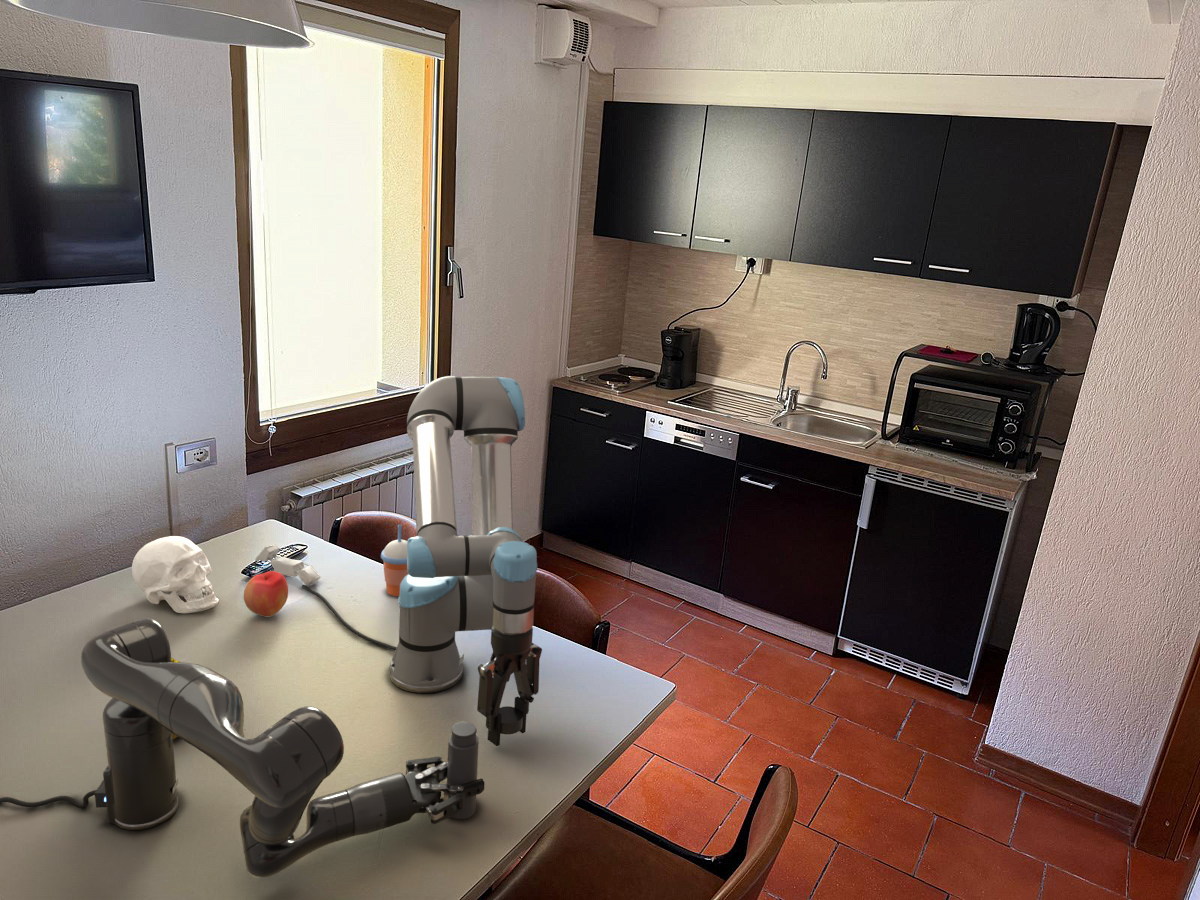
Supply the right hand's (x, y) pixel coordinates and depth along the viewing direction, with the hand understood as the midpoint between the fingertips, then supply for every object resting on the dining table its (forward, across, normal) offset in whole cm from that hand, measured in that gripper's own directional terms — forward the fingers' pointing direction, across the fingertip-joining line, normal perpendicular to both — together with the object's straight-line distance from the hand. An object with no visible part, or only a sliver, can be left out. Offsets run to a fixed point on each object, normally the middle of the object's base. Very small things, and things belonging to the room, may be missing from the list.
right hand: (506, 735), depth 162 cm
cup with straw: (+1, -18, -65) cm, 67 cm away
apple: (+1, +13, -73) cm, 74 cm away
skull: (+1, +26, -91) cm, 94 cm away
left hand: (-4, +15, +9) cm, 18 cm away
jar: (+2, +17, +9) cm, 19 cm away
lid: (-4, 0, 0) cm, 4 cm away
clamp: (+1, 0, -89) cm, 89 cm away
